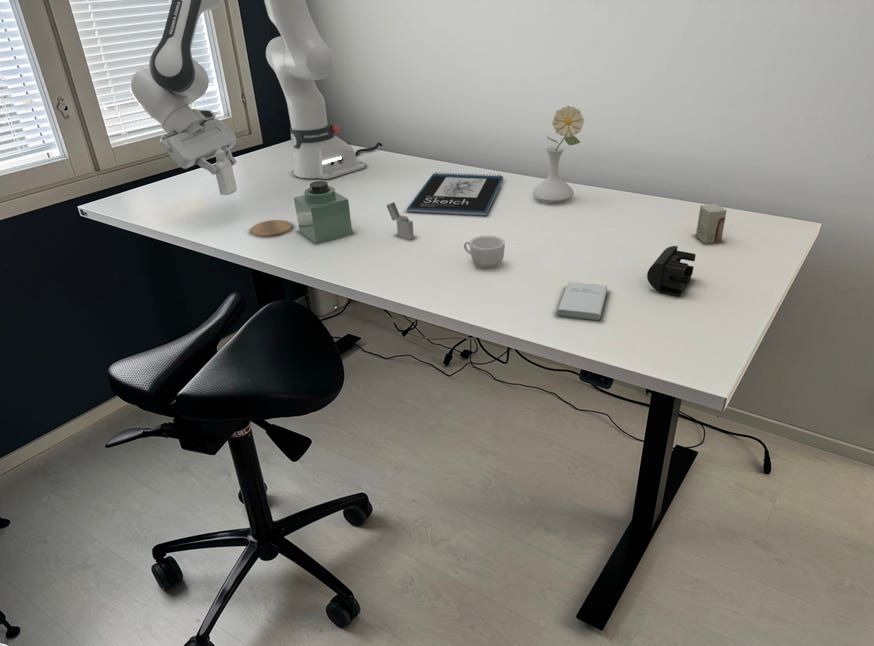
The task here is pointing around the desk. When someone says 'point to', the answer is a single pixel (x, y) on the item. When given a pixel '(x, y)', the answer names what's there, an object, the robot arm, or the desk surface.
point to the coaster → (271, 228)
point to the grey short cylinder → (319, 187)
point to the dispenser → (323, 215)
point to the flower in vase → (553, 185)
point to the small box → (711, 223)
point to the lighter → (401, 222)
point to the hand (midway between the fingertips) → (225, 168)
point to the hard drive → (582, 301)
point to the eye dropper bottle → (224, 173)
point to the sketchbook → (457, 194)
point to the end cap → (671, 271)
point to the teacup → (486, 251)
